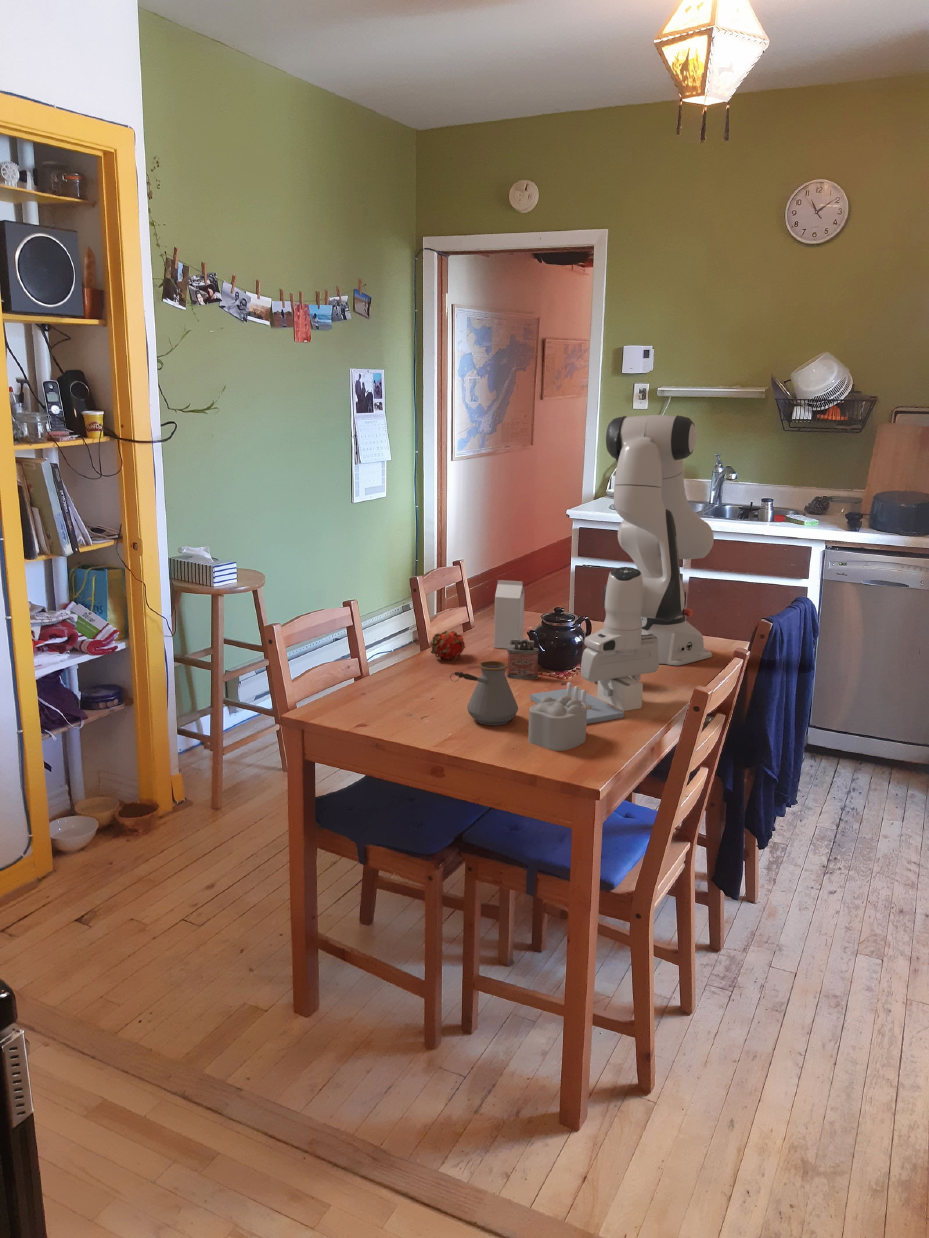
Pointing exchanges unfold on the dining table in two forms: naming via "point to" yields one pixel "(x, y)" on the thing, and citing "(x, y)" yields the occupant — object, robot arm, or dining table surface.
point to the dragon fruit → (447, 645)
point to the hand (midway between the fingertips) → (619, 694)
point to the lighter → (522, 660)
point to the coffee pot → (491, 695)
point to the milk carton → (508, 613)
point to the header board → (595, 706)
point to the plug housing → (623, 693)
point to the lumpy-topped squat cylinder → (557, 723)
